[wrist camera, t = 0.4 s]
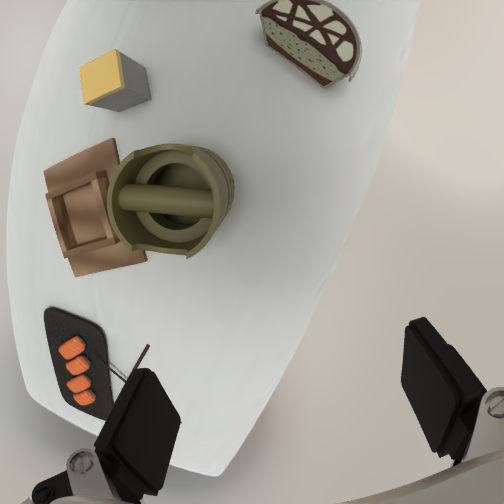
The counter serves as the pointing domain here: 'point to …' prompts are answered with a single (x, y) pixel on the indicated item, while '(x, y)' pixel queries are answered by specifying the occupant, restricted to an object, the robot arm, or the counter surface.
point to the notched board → (87, 211)
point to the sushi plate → (81, 363)
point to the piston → (169, 198)
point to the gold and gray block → (114, 82)
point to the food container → (312, 38)
